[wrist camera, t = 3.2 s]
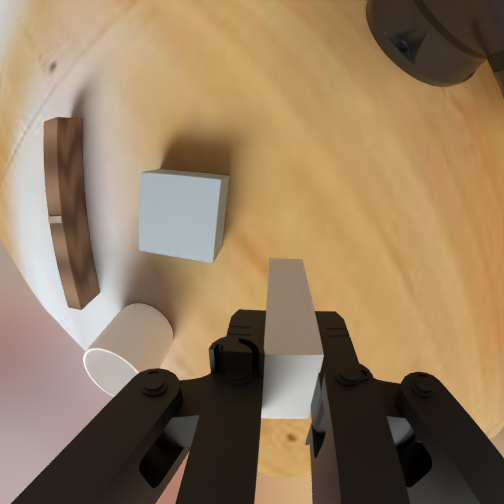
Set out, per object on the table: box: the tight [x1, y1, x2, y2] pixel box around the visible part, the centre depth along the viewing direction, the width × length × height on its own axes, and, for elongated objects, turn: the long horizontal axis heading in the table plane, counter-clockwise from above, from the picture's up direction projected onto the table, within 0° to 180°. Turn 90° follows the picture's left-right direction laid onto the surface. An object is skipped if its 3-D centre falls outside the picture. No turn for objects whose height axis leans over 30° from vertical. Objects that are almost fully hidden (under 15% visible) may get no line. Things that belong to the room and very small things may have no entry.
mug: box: [83, 303, 173, 397], centre depth 32 cm, size 9×12×11 cm
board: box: [44, 117, 100, 310], centre depth 29 cm, size 24×2×5 cm, turn 179°
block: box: [139, 169, 230, 263], centre depth 28 cm, size 8×8×5 cm
